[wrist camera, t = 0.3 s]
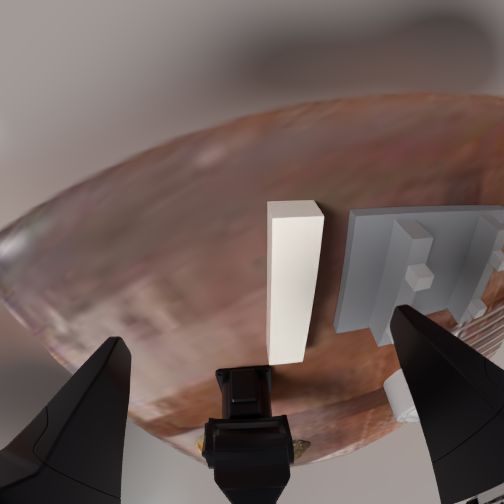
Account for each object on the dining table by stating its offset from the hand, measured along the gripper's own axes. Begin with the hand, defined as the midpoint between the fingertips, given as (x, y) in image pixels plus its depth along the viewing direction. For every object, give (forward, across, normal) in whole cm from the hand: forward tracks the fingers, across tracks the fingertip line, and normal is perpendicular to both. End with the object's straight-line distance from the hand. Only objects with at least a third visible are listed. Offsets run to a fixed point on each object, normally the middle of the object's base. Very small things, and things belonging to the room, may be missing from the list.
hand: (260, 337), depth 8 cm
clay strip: (+14, -3, +9) cm, 16 cm away
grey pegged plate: (+13, -18, +9) cm, 24 cm away
